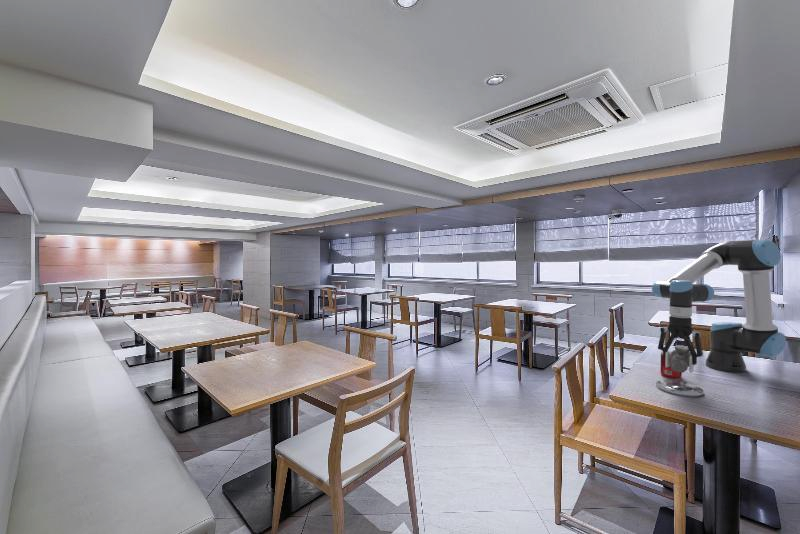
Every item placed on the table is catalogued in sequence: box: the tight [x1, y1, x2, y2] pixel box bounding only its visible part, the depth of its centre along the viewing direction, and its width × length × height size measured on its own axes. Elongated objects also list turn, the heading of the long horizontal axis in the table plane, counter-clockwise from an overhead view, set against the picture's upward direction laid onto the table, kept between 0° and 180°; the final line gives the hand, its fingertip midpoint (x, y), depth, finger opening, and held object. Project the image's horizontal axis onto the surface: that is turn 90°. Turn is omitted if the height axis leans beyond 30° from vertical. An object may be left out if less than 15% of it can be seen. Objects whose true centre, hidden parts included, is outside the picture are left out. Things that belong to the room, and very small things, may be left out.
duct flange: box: [655, 379, 704, 398], centre depth 151 cm, size 16×16×2 cm
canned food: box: [660, 350, 683, 380], centre depth 167 cm, size 8×8×11 cm
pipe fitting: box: [670, 344, 692, 373], centre depth 150 cm, size 12×8×10 cm
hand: (679, 369), depth 150 cm, fingers closed on pipe fitting, 8 cm apart
